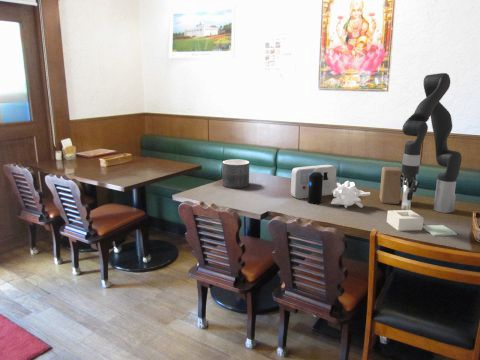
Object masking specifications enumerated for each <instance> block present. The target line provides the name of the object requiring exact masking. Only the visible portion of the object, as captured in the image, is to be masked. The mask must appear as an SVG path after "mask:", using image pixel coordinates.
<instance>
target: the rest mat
mask: <svg viewBox="0 0 480 360" xmlns="http://www.w3.org/2000/svg"><path fill="white" fill-rule="evenodd" d="M422 230H424V231H426V232H428V233H429V234H431V235H432V236H433V237H436V236H438V237H439V236H442V237H443V236H444V237H445V236H457V234H458V233H457V232H455V231H454V230H452V229H451V228H449V227H447V226H446V225H443V224H436V225H435V224H433V225H431V224H430V225H429V224H427V225H423V227H422Z"/></svg>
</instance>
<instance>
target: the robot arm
mask: <svg viewBox="0 0 480 360" xmlns="http://www.w3.org/2000/svg"><path fill="white" fill-rule="evenodd" d="M450 85H451V78H450V75H449V74H448V73H446V72H440V73H431V74H426V75H425V76H424V78H423V90H424V93H425V98H424V99H422V101H420V102H419V104H418V105H417V106H416V109H415V110H414V113H412V115H410V116H409V117H408V118H407V119H406V120H405V122H404V123H403V125H402V133H403V135H405V136H408V137H416V139H415V140H408V141H406V142H405V145H404V151H403V156H402V163H401V170H402V173H403V174H402V175H400V186H401V190H403V188H404V180H406V181H407V188H408V193H407V200H411V201H412V200H413V193H416V192H417V191H418V190H417V189H418V187H419V183H420V182H419V181H418V180H417V177H416V175H419V173H420V165H421V152H422V145H423V142H424V139H425V138H426V135H427V133H428V130H429V127H428V123H427V122H428V121H429V120H430V121H431V127H432V132H433V137H434V144H435V147H434V148H435V149H434V150H435V160H436V163H437V165H439V166H440V167H443V168H446V170H445V171H444V172H440V173H438V174H437V178H436V187H435V194H434V201H433V211H435V212H437V213H444V214H448V213H453V212H454V211H455V206H456V205H455V204H456V199H457V198H456V197H457V194H455V192H456V185H457V179H458V177H459V174H460V169H461V165H462V161H463V160H462V154H461V152H459V151H456V150H451V149H449V148H448V139H449V138H448V137H449V136H450V134H451V133H452V130H453V120H452V115H451V113H450V112H449V110H448V109H447V108H446V107H445V106H444V105H443V104H442V102H440V101H441V100H442V98H443V97H444V95H446V93H447V92H448V91H449V89H450V87H451V86H450ZM409 185H412V186H409ZM410 187H411V189H410ZM401 197H403V192H402V195H401Z"/></svg>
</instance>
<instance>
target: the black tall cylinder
mask: <svg viewBox="0 0 480 360" xmlns="http://www.w3.org/2000/svg"><path fill="white" fill-rule="evenodd" d="M322 184H323V175H322V174H321V173H319V172H318V168H315V172H313V173H311V174H310V175H309V191H308V198H307V203H308V204H310V205H320V204H322V203H323V201H322V200H323V199H322V197H323V196H322Z"/></svg>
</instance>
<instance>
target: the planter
mask: <svg viewBox="0 0 480 360" xmlns="http://www.w3.org/2000/svg"><path fill="white" fill-rule="evenodd" d="M221 165H222V186H223V187H224V188H229V189H243V188H248V187H249V186H250V161H249V160H246V159H237V158H235V159H226V160H223V161H222V164H221Z"/></svg>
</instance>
